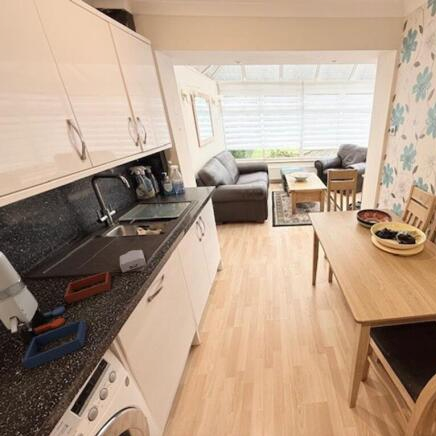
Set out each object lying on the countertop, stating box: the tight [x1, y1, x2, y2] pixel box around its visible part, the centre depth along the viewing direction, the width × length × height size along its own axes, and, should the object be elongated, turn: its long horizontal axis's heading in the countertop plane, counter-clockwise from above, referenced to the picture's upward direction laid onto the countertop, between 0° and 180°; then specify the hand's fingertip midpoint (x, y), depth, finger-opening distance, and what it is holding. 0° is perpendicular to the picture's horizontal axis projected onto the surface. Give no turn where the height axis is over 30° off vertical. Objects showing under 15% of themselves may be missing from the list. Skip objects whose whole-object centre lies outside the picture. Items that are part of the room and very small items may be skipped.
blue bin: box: [22, 318, 88, 370], centre depth 72 cm, size 12×9×4 cm
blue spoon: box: [30, 306, 66, 324], centre depth 85 cm, size 10×4×2 cm, turn 122°
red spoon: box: [34, 317, 66, 334], centre depth 80 cm, size 10×4×2 cm, turn 122°
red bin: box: [63, 270, 112, 305], centre depth 96 cm, size 13×9×4 cm
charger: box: [119, 249, 147, 273], centre depth 113 cm, size 5×9×15 cm
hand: (37, 330), depth 79 cm, fingers open, 7 cm apart
